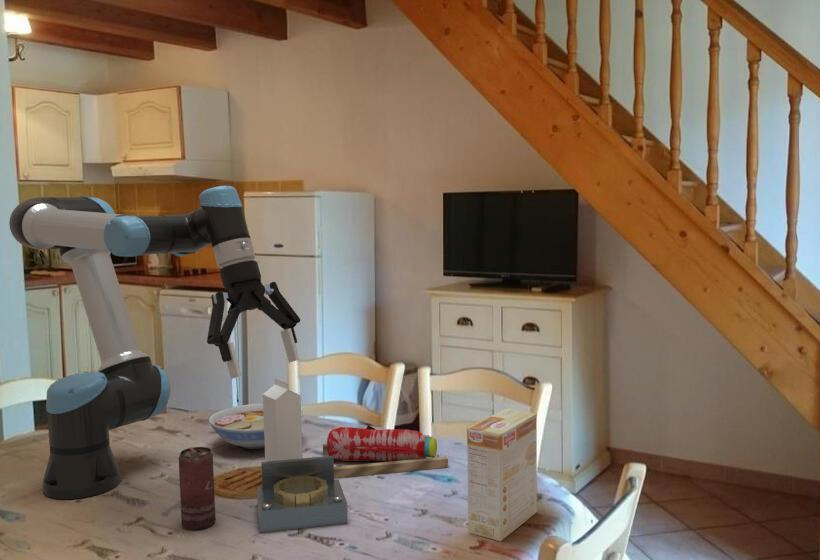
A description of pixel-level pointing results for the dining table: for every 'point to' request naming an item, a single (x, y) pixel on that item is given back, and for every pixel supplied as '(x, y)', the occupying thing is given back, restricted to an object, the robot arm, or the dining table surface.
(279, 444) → the milk
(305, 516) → the bolted ring bracket
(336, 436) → the water bottle
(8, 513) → the dining table surface
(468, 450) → the coffeecake box
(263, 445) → the ramen bowl
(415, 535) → the dining table surface
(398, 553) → the dining table surface
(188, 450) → the can
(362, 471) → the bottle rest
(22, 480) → the dining table surface
